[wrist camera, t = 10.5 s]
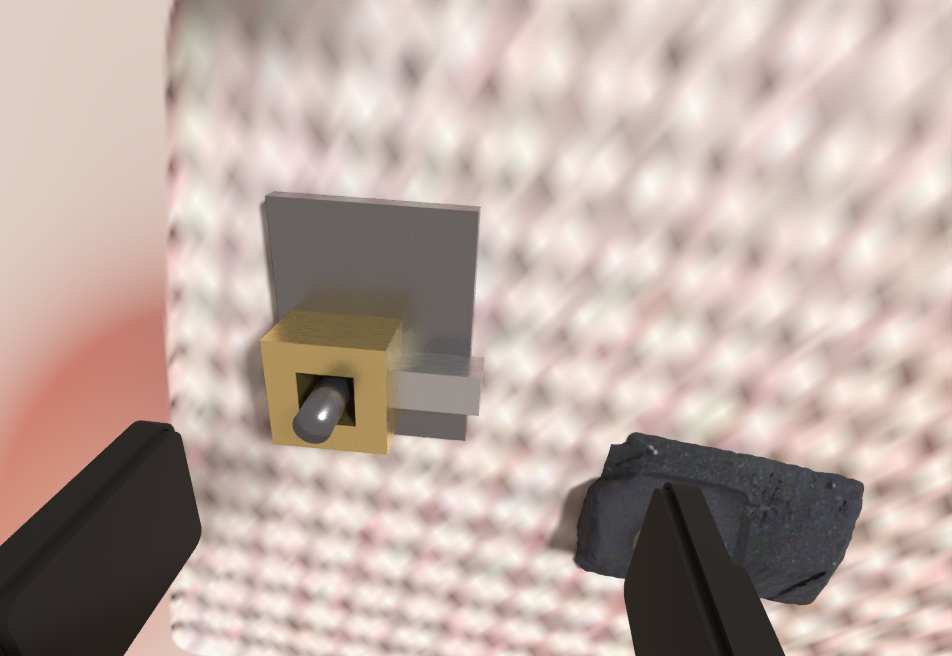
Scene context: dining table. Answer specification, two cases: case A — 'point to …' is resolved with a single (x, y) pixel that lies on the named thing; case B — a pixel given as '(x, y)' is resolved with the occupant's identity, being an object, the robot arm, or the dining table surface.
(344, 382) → the grey metal peg
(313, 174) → the dining table surface
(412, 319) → the square hole fixture
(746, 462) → the dark slate chunk
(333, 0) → the dining table surface
